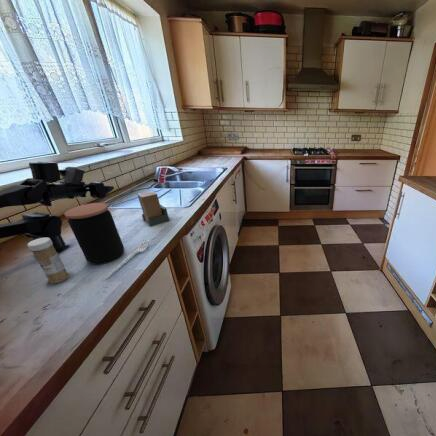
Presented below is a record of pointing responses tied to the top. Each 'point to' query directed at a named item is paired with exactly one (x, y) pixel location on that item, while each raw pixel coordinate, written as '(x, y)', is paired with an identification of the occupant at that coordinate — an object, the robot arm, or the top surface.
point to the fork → (130, 257)
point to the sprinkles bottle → (48, 259)
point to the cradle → (158, 219)
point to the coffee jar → (95, 232)
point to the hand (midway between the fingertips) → (105, 186)
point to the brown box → (150, 205)
